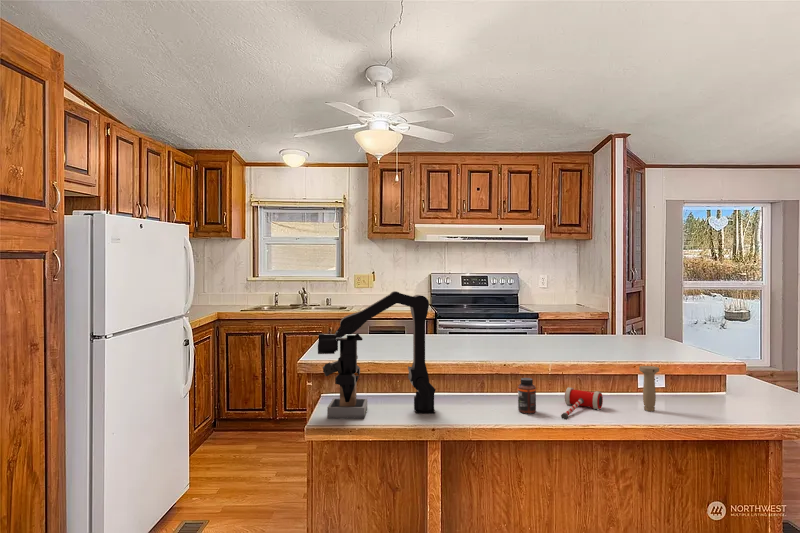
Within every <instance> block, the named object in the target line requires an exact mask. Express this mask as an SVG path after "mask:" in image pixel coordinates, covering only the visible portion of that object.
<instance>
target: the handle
mask: <svg viewBox="0 0 800 533" xmlns="http://www.w3.org/2000/svg"><path fill="white" fill-rule="evenodd" d="M638 370H639V372H641V373H642V374H643V386H642V389H643V390H642V401H643V402H642V403H643V409H644V411H646V410H647V411H646V412H651V411H653V412H655V409H656V407H655V405H656V401H657V400H656V398H657V393H656V379H655V378H656V377H655V375H656V374H657V373H658V372H660V367H658V366H655V365H652V366H651V365H641V366H639V367H638Z"/></svg>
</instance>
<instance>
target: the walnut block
mask: <svg viewBox="0 0 800 533" xmlns="http://www.w3.org/2000/svg"><path fill="white" fill-rule="evenodd" d="M339 398H340V406H346V407H355V405H356V399H357V383H356V384H355V387H354V389H353V392H352V395H351V398H350V400H349V402H345V397H344V393H343V389H342V387H341V386H340V385H339Z"/></svg>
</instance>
